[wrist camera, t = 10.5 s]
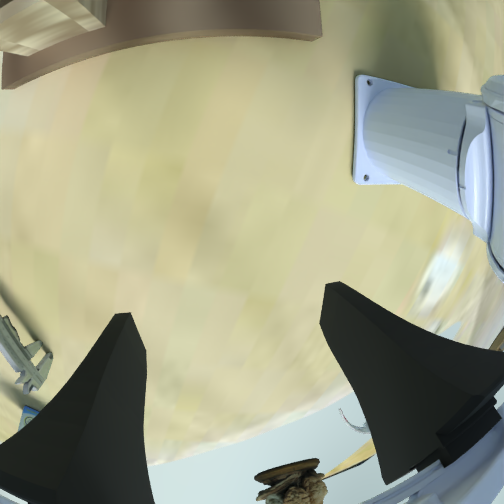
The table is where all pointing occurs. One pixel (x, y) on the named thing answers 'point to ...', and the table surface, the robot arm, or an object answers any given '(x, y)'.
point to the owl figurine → (293, 484)
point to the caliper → (23, 357)
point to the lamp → (498, 342)
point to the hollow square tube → (46, 22)
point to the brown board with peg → (169, 29)
